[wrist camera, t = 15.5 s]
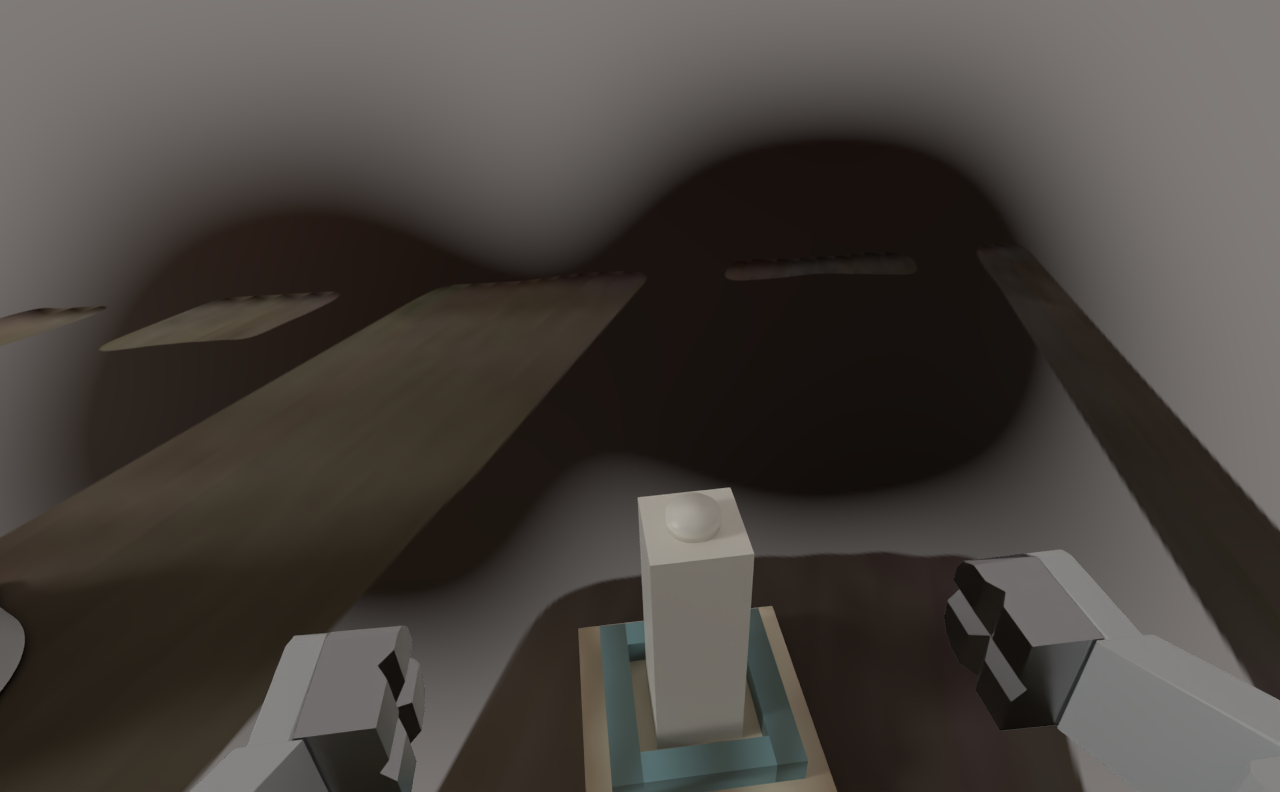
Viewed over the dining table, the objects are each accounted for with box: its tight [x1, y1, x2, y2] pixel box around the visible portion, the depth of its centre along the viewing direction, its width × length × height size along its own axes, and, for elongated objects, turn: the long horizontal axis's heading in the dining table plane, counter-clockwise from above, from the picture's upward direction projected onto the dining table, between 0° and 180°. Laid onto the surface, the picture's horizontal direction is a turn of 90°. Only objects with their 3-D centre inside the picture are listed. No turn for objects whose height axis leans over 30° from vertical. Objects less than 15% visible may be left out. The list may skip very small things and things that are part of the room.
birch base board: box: [578, 606, 837, 792], centre depth 38 cm, size 12×12×4 cm
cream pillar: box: [638, 488, 754, 749], centre depth 34 cm, size 4×4×14 cm
